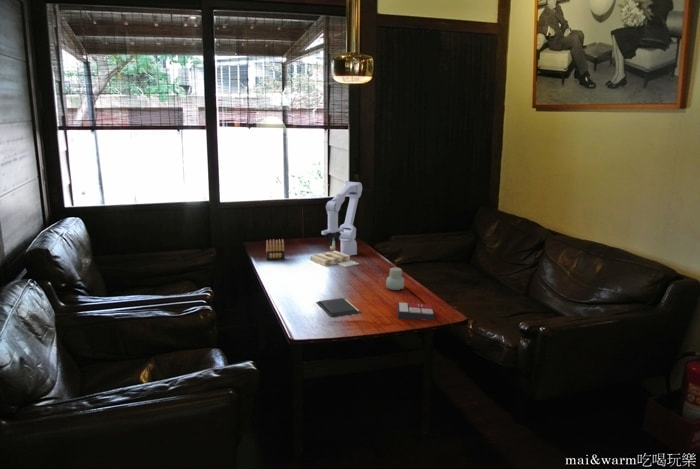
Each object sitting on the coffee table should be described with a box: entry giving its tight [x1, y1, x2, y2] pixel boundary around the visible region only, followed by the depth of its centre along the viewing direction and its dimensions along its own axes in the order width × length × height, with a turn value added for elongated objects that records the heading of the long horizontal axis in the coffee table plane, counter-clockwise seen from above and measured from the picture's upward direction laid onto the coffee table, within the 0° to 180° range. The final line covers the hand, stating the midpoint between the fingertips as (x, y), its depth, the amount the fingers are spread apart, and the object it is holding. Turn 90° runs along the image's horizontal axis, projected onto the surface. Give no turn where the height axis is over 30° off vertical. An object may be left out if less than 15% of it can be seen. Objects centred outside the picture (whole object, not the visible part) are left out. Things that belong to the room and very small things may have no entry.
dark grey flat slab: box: [315, 297, 363, 318], centre depth 237 cm, size 20×2×15 cm
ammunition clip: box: [265, 238, 286, 261], centre depth 309 cm, size 11×2×12 cm, turn 102°
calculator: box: [396, 302, 435, 321], centre depth 229 cm, size 11×4×15 cm
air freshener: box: [385, 267, 405, 291], centre depth 262 cm, size 11×8×10 cm
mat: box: [337, 259, 360, 268], centre depth 302 cm, size 10×7×1 cm
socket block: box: [309, 250, 351, 267], centre depth 309 cm, size 18×14×3 cm
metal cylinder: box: [329, 237, 336, 251], centre depth 306 cm, size 3×3×7 cm
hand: (332, 245), depth 306 cm, fingers closed on metal cylinder, 3 cm apart
